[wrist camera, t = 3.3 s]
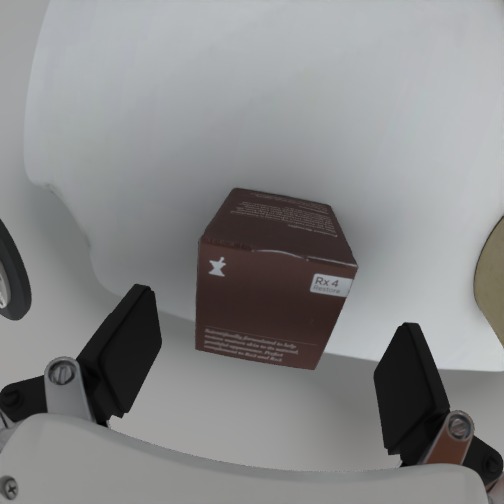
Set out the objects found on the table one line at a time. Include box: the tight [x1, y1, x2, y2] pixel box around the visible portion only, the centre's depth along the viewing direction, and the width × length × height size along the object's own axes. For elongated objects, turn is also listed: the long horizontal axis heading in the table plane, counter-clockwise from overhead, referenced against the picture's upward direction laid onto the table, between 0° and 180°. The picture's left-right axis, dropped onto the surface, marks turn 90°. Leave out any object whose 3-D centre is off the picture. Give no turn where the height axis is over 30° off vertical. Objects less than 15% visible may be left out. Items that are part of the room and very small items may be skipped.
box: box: [195, 188, 358, 370], centre depth 15 cm, size 6×6×7 cm
